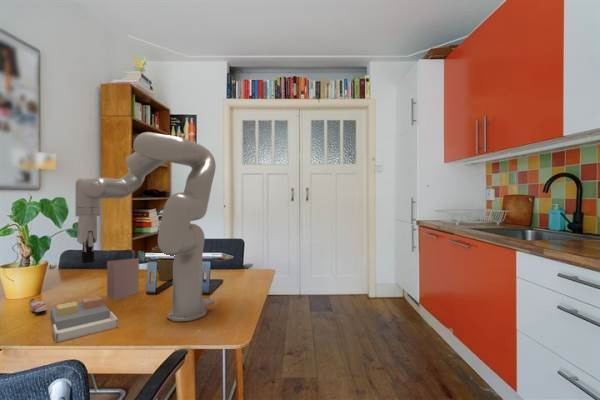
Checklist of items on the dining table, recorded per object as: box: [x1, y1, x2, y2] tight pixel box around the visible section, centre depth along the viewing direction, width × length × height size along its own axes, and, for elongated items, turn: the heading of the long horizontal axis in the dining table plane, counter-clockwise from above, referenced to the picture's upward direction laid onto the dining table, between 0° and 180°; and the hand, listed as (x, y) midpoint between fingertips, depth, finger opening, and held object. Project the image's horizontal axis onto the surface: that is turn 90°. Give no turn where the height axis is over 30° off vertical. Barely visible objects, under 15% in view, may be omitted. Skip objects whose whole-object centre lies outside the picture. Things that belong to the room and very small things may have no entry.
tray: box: [52, 311, 119, 344], centre depth 91 cm, size 15×9×2 cm, turn 134°
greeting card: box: [106, 257, 140, 302], centre depth 122 cm, size 11×7×15 cm, turn 125°
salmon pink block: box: [81, 295, 103, 310], centre depth 103 cm, size 5×5×2 cm
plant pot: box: [152, 246, 173, 282], centre depth 151 cm, size 15×15×16 cm
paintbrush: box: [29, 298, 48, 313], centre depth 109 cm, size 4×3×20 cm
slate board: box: [50, 301, 111, 330], centre depth 100 cm, size 14×16×3 cm
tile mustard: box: [56, 301, 78, 317], centre depth 97 cm, size 5×5×2 cm
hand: (87, 261), depth 109 cm, fingers closed
